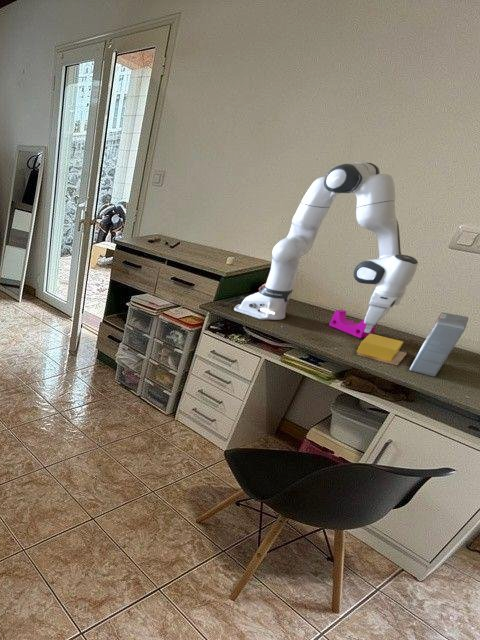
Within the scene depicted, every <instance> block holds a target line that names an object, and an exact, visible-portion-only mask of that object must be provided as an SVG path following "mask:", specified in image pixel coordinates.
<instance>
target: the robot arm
mask: <svg viewBox="0 0 480 640" xmlns="http://www.w3.org/2000/svg"><path fill="white" fill-rule="evenodd" d="M340 194H354V196H355V199H356V208H355V217H356V222H357V224H358V225H359V226H360V227H362V228H363V229H366V230H368V231H370V232H372V233H374V234H375V236H376V237H377V246H378V258H373V259H372V258H371V259H367V260H363V261H361V262H359V263H358V264H357V265H355V267H354V270H353V278H354V280H355V281H356V282H358V283H360V284H364V285H375V288H374V290H373V292H372V294H371V296H370V299H369V302H368V305H369V306H368V309H367V312H366V314H365V317H364V319H363V320H364V323H365V324H367V325H366V328H365V330H364V332H366V333H370V332H371V330H372V327H373V326H374V327H376V328H377V326H378V324H379V323H380V321H381V320H382V319H383V318H384V317H386V316H387V314H389V312H390V310H391V308H393V307H394V306H397V305H400V303H401V301H402V299H403V297H404V295H405V294H406V290H407V287H408V286H409V284H411V282H412V280H413V278H414V276H415V274H416V272H417V269H418V265H419V262H418V260H417V259H416V258H415V257H414V256H410V255H407V254H402V252H401V250H402V249H401V237H400V227H399V226H400V224H399V222H398V219H397V216H396V215H397V214H396V188H395V183H394V178H393V176H392V175H390V174H387V173H381V171H380V169H379V167H378V166H377V165H376V164H375V163H372V162H361V161H358V162H357V161H356V162H352V163H342V164H339V165H337V166H334V167H332V168H331V169H330V170H328V172H327V173H326V175H325V176H320V177H318V178H316V179H315V180H314V181H313V182H312V183H311V185H310V186H309V187H308V189H307V191H306V192H305V194H304V195H303V197H302V199H301V201H300V203H299V205H298V207H297V209H296V211H295V213H294V215H293V217H292V219H291V225H290V228H289V231H288V234H287V235H286V237H285V238H282V239H281V240H278V242H277V243H276V244H275V245H274V246H273V248H272V252H271V255H272V257H271V265H270V269H269V273H268V277H267V280H266V283H264V284H262V285H261V286H259V288H258V291H257V292H254V293H252V294H250V295H247V296H242V295H241V296H240V297H239V298H236V299H232V300H231V299H230V300H229V301H228V302H227V303H220V304H219V305H221V306H224V307H225V306H228V305H230V304H231V303H232V302H237V301H238V302H237V304H236V305H235V306H234V308H233V310H234V311H235V312H238V313H241V314H244V315H247V316H250V317H253V318H255V319H259V320H261V321H262V320H263V321H264V320H271V321H272V320H273V321H278V320H279V321H280V320H283V319H285V318H286V311H287V305H288V303H289V301H290V299H291V297H292V294H293V287H294V285H295V282H296V280H297V277H298V275H299V273H298V270H299V269H298V268H299V264H300V260H301V258H302V257H303V256H306V255H307V254H308V253H309V252H310V251H311V249H312V248H313V246H314V243H315V240H316V238H317V235H318V233H319V230H320V228H321V225H322V223H323V221H324V219H325V217H326V216H327V214H328V212H329V210H330V209H331V207H332V204H333V202H334V201H335V199H336V198H337V196H338V195H340Z"/></svg>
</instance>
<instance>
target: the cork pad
mask: <svg viewBox="0 0 480 640" xmlns="http://www.w3.org/2000/svg"><path fill="white" fill-rule="evenodd" d="M407 354H408V352H406V351H405V352H404V351H400V350H399V351H398V353H397V354H396V355H395V356H394V357H393V359H392V360H391V361H387V360H384V359H380V358H376V357H373V356H369V355H365V354H362V353H358V352H356V354H355V355H356V356H360V357H364V358H367V359H370V360H374V361H378V362H381V363H385V364H389V365H393V366H396V367H397V366H398V365H399V364H400V363H401V362H402V360H404V358H405V357H406V356H407Z"/></svg>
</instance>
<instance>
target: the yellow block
mask: <svg viewBox="0 0 480 640" xmlns="http://www.w3.org/2000/svg"><path fill="white" fill-rule="evenodd" d="M403 344H404V340H399V339H395V338H390V337H386V336H383V335H379V334H374V333H373V334H369V335H368V336H367V337H364V338H363V340H361V342H360V343H359V346H358V348H357V350H356V353H362V354H365V355H369V356H373V357H376V358H380V359H384V360H387V361H391V360H392V359H393V357H394V356H395V355H396V354H397V353H398V351H400V349H401V348H402V346H403Z"/></svg>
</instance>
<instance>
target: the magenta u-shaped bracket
mask: <svg viewBox="0 0 480 640" xmlns="http://www.w3.org/2000/svg"><path fill="white" fill-rule="evenodd" d="M364 320H365V319H362V320H361V321H360V322H359V323H356V322H355V321H354V320H348V319H347V310H344V309H337V310H335V311H334V313H333V315H332V318H331V319H330V322H329V324H328V326H330V327H332V328H335V329H337V330H338V331H339V330H340V331H342V332H344V333H347V334H349V335H352V336H354V337H356V338H358V339H362V338H363V339H365V338H366V337H367V336H368V335H369V334H374V332H375V331H376V329H377V326H376V327H374V326H373V327H372V330H371V332H370V333H366V332H364V330H365V328H366V325H367V324H365V323H364Z"/></svg>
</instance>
